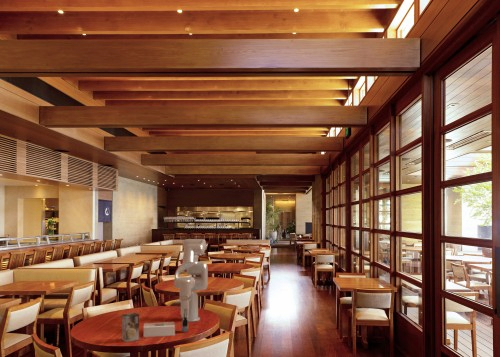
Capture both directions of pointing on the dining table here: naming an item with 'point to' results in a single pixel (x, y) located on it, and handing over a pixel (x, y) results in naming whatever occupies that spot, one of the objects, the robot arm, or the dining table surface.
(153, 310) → the dining table surface
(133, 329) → the coffee box
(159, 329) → the socket block
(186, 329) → the marker peg
